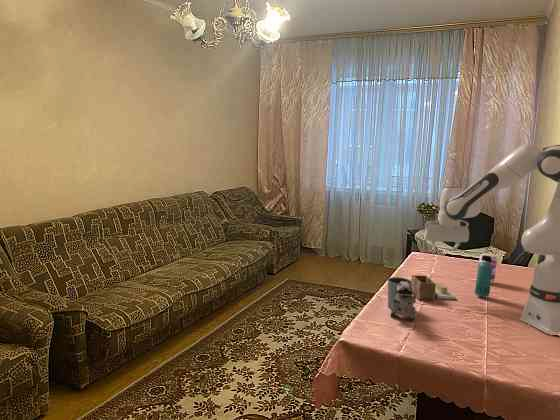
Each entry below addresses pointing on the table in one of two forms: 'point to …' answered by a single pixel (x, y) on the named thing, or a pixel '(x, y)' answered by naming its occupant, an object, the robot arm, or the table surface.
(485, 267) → the beverage bottle
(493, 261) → the supplement can
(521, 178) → the robot arm
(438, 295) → the lid
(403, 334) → the table surface
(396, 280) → the gray embossed pot
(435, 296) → the mat
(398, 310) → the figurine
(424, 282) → the box
